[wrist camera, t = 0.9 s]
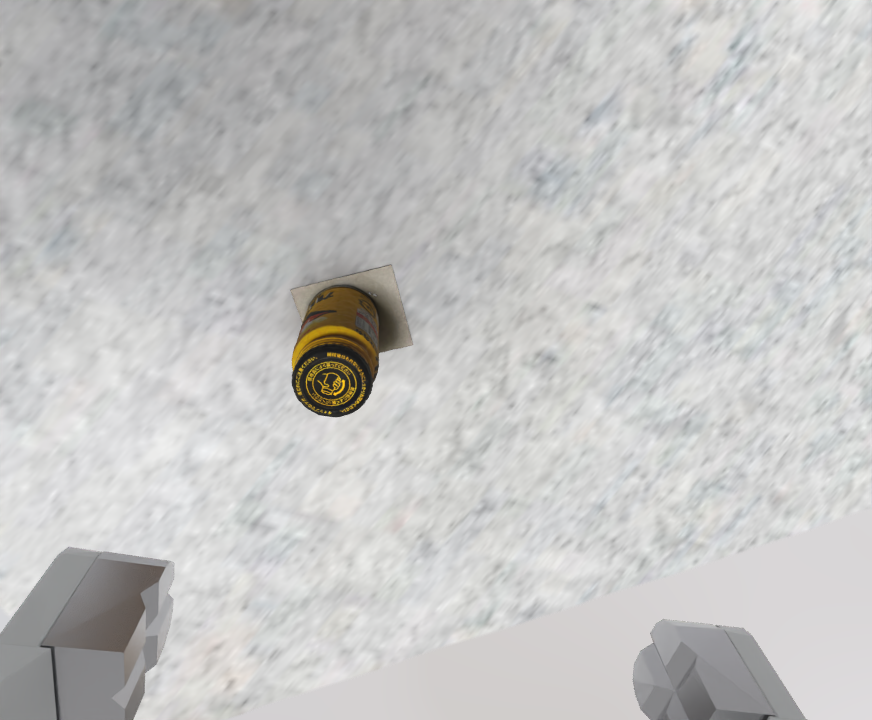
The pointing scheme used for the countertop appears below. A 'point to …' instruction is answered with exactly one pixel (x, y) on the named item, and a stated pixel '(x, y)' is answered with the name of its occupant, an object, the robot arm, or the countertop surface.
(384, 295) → the condiment
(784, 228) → the countertop surface
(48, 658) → the robot arm
